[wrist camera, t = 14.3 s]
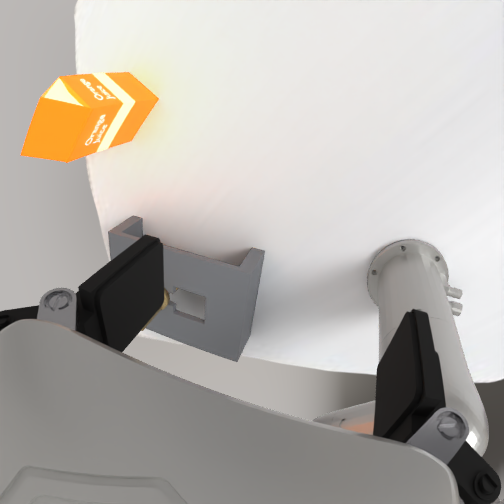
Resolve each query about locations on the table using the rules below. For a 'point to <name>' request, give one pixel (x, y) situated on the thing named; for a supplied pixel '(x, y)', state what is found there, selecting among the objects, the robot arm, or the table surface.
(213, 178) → the table surface
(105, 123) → the orange juice
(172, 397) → the robot arm
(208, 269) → the keyhole board
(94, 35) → the table surface
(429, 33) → the table surface
